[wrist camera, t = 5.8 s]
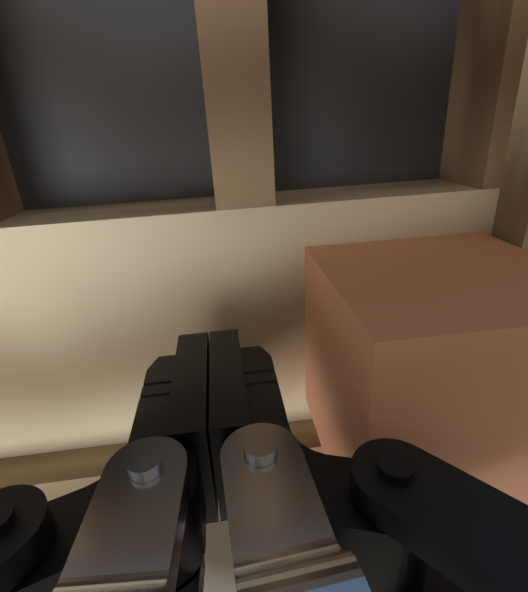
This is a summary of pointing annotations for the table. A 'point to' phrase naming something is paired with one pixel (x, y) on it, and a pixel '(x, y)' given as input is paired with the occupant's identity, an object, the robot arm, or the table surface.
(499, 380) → the block
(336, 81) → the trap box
